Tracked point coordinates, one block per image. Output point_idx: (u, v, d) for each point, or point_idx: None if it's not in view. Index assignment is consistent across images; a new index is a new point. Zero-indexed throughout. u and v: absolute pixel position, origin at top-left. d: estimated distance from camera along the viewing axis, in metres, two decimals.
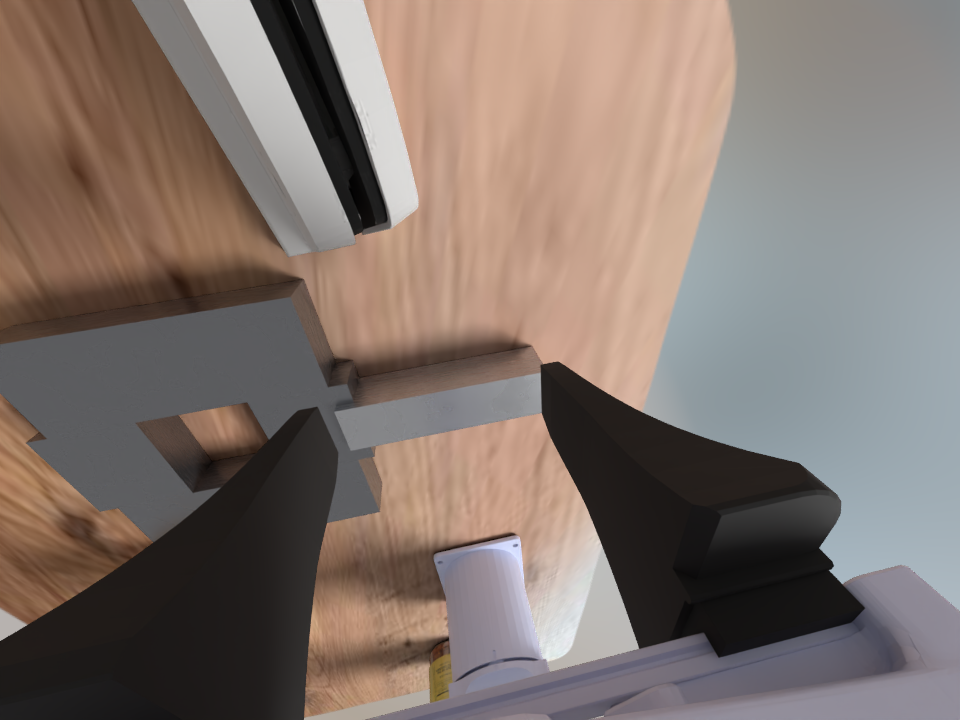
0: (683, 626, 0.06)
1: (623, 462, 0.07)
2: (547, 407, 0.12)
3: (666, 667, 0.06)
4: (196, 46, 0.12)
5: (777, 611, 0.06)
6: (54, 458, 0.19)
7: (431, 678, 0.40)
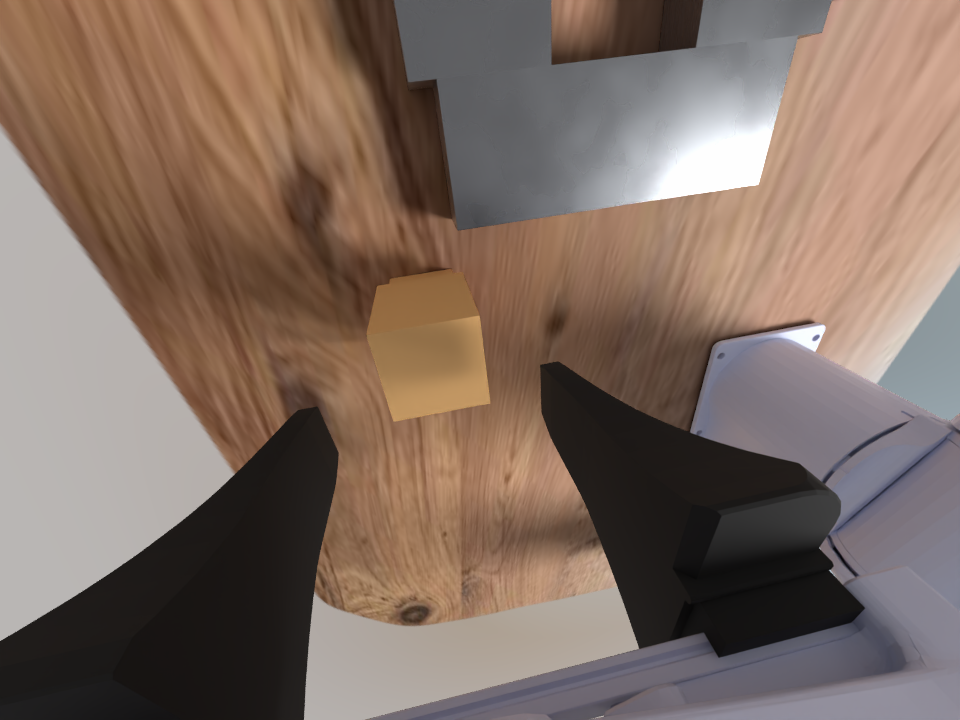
0: (684, 626, 0.06)
1: (623, 462, 0.07)
2: (547, 407, 0.12)
3: (666, 667, 0.06)
4: None
5: (777, 610, 0.06)
6: None
7: None
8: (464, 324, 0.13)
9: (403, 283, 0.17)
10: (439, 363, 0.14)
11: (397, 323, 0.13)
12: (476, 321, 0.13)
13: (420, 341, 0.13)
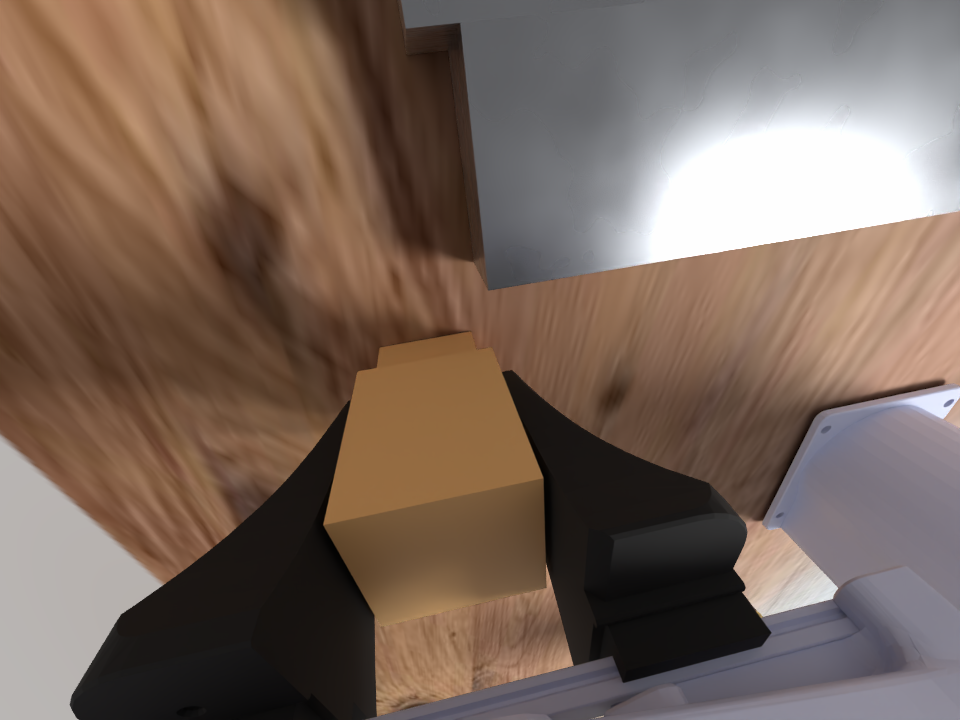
0: (600, 647, 0.06)
1: (548, 478, 0.07)
2: None
3: (666, 667, 0.06)
4: None
5: (682, 634, 0.05)
6: None
7: None
8: (513, 492, 0.07)
9: (399, 368, 0.10)
10: (463, 549, 0.07)
11: (386, 489, 0.07)
12: (536, 486, 0.07)
13: (429, 523, 0.07)
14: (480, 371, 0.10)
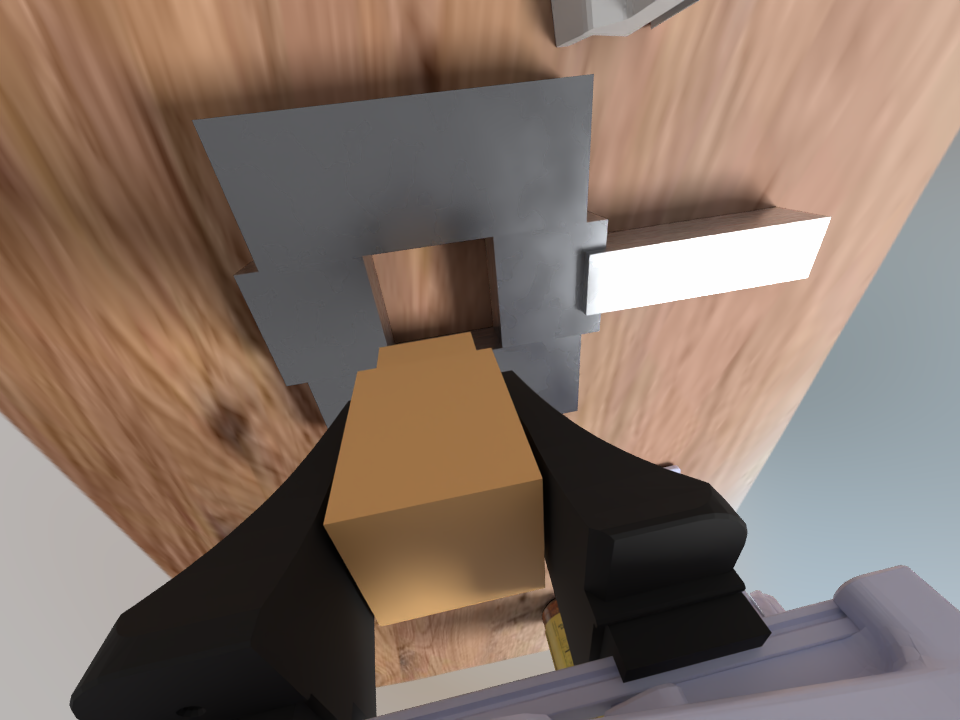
0: (600, 647, 0.06)
1: (548, 478, 0.07)
2: None
3: (666, 667, 0.06)
4: None
5: (683, 635, 0.05)
6: (258, 302, 0.15)
7: (552, 634, 0.36)
8: (513, 493, 0.07)
9: (398, 368, 0.11)
10: (462, 549, 0.07)
11: (386, 489, 0.07)
12: (535, 487, 0.07)
13: (429, 523, 0.07)
14: (480, 372, 0.10)
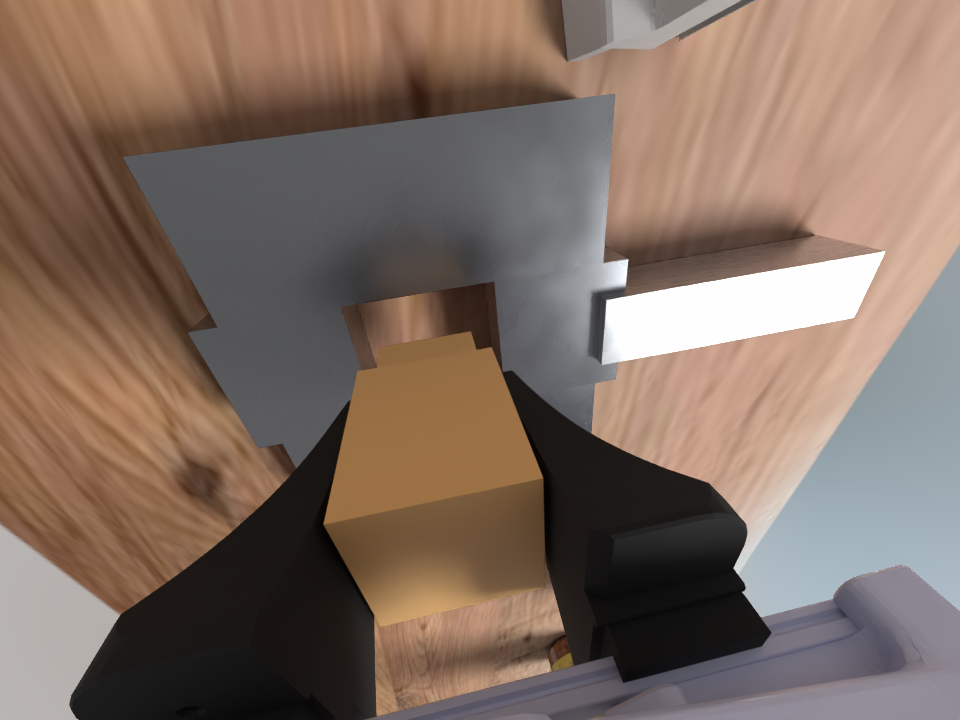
0: (600, 647, 0.06)
1: (548, 478, 0.07)
2: None
3: (666, 667, 0.06)
4: None
5: (683, 636, 0.05)
6: (220, 360, 0.13)
7: None
8: (514, 493, 0.07)
9: (399, 368, 0.10)
10: (462, 549, 0.07)
11: (386, 489, 0.07)
12: (536, 486, 0.07)
13: (430, 523, 0.07)
14: (480, 371, 0.10)
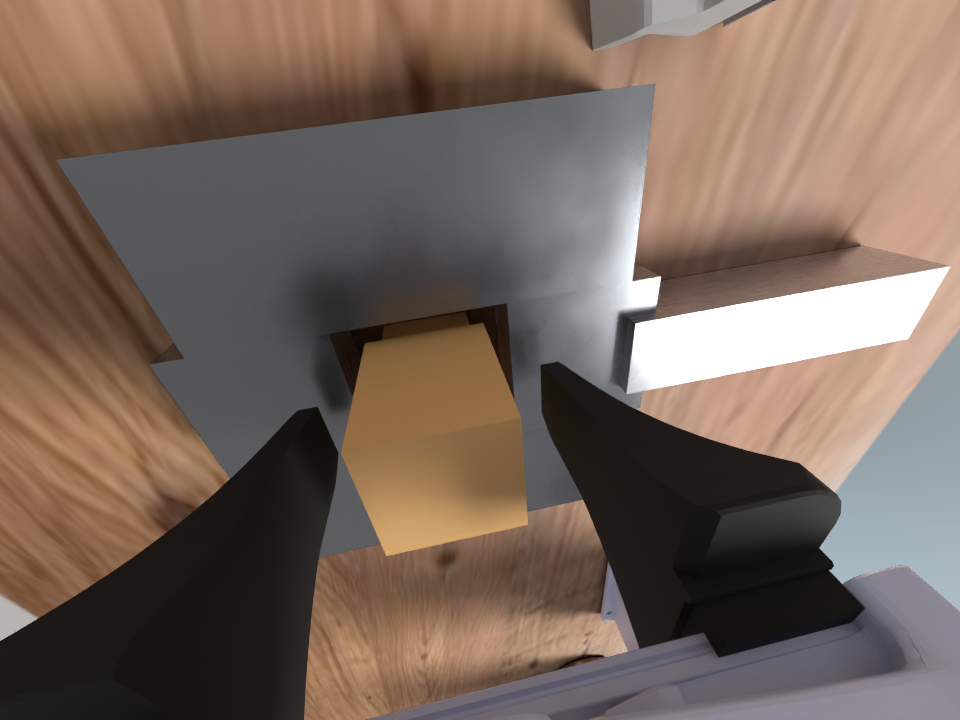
0: (683, 626, 0.06)
1: (624, 462, 0.07)
2: (547, 407, 0.12)
3: (666, 667, 0.06)
4: None
5: (777, 610, 0.06)
6: (188, 395, 0.11)
7: None
8: (497, 430, 0.08)
9: (401, 340, 0.12)
10: (455, 482, 0.09)
11: (391, 428, 0.08)
12: (515, 425, 0.08)
13: (427, 456, 0.08)
14: (472, 341, 0.11)
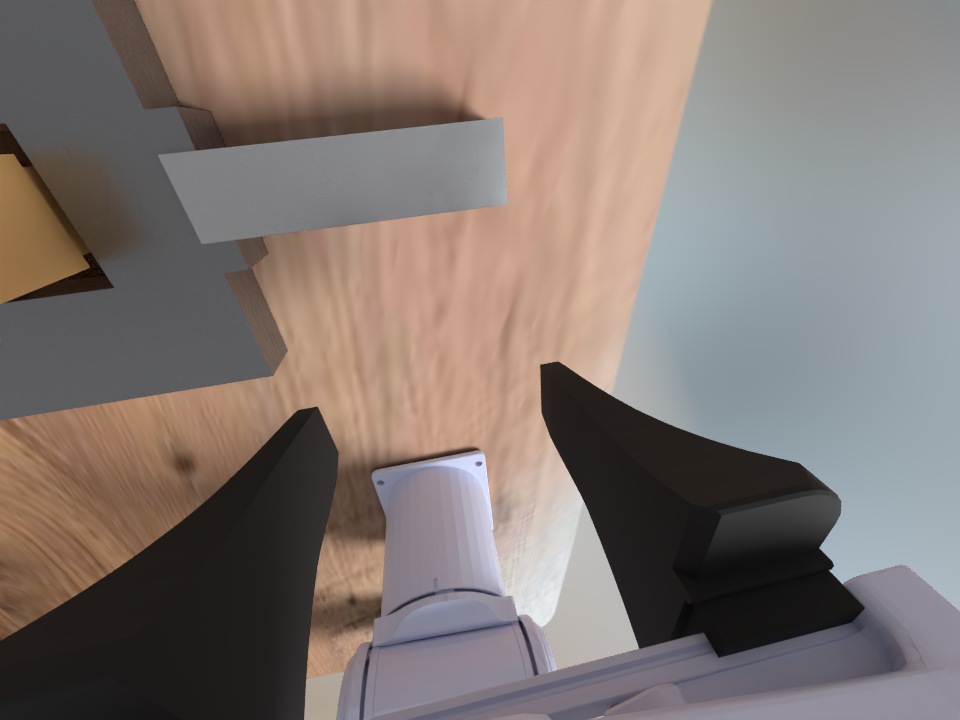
0: (683, 626, 0.06)
1: (623, 462, 0.07)
2: (547, 407, 0.12)
3: (666, 667, 0.06)
4: None
5: (777, 611, 0.06)
6: None
7: None
8: None
9: None
10: None
11: None
12: None
13: None
14: None
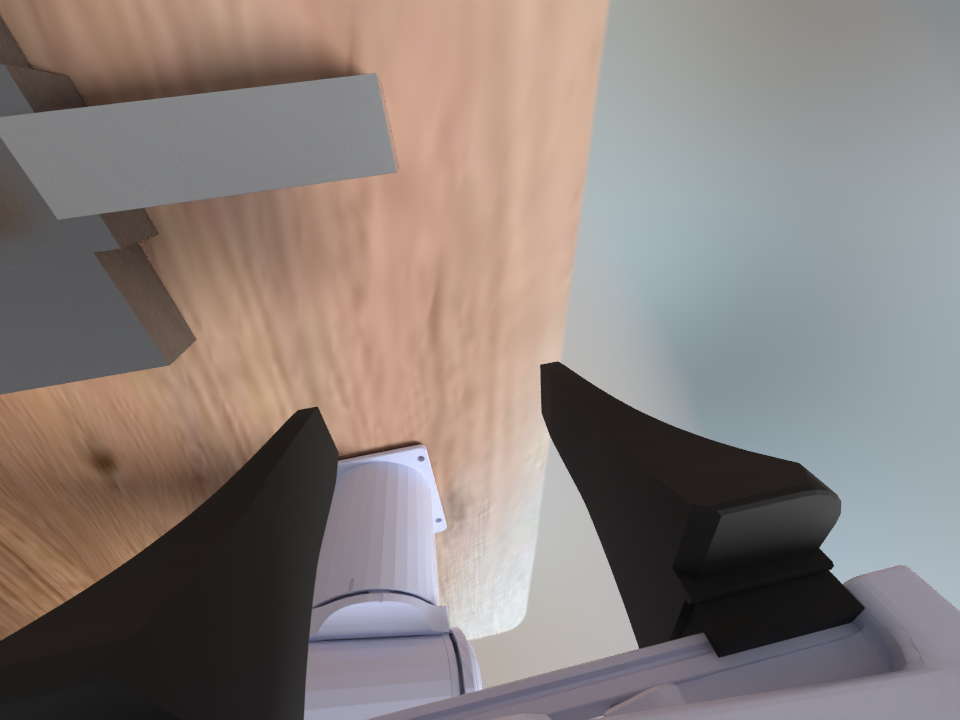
0: (684, 626, 0.06)
1: (624, 463, 0.07)
2: (547, 407, 0.12)
3: (666, 667, 0.06)
4: None
5: (777, 611, 0.06)
6: None
7: None
8: None
9: None
10: None
11: None
12: None
13: None
14: None
